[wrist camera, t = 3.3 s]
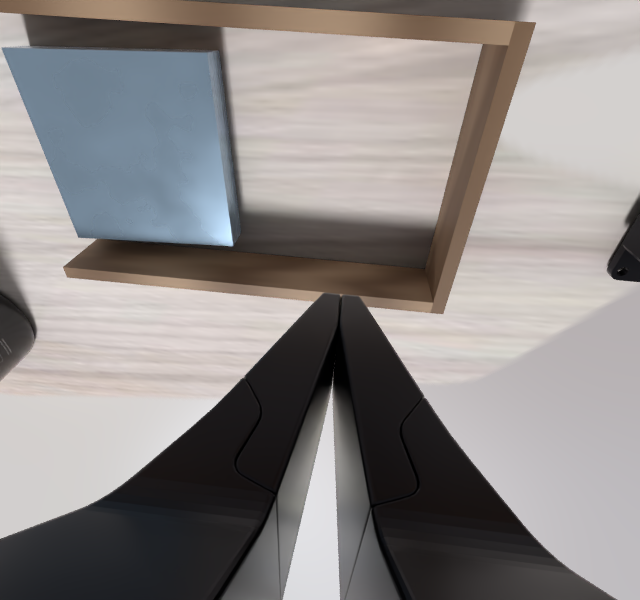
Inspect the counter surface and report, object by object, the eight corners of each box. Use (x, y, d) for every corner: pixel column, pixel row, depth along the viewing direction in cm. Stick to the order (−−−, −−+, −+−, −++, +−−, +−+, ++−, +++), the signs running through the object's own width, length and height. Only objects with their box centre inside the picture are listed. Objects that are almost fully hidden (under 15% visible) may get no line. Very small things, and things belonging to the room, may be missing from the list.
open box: (506, 22, 14) (536, 22, 11) (433, 279, 20) (442, 314, 18) (13, -9, 14) (-57, -15, 12) (100, 248, 21) (67, 277, 19)
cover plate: (223, 49, 15) (206, 52, 14) (243, 228, 20) (233, 246, 19) (37, 45, 16) (1, 47, 14) (100, 220, 21) (78, 237, 19)
